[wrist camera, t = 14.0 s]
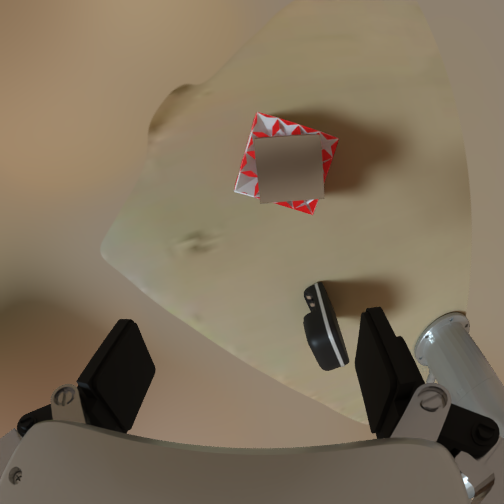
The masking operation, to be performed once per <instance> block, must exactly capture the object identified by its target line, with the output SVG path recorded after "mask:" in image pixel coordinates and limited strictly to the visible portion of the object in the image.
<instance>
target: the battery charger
mask: <svg viewBox="0 0 504 504" xmlns="http://www.w3.org/2000/svg"><path fill="white" fill-rule="evenodd" d="M304 297H305V300H306V302H307V304H308V306H309V308H310V311H311V313H309V314H307V315H306V316H305V317H304V322H303V324H304V329H305V334H306V338H307V341H308V344H309V346H310V348H311V350H312V352H313V354H314V356H315V358H316V360H317V362H318V364H319V366H320V367H321V368H322V369H323V370H325V371H329V370H332V369H335V368H338V367H343V366H345V365H346V364H348V363H349V358H348V354H347V351H346V347H345V344H344V340H343V337H342V334H341V331H340V327H339V324H338V321H337V318H336V315H335V312H334V309H333V307H332V305H331V302H330V300H329V297H328V295H327V292H326V290H325V288H324V285H323V283H322V282H319V283H315V284H314V285H312V286H310V287H308V288H307V289H306V290H305V291H304Z"/></svg>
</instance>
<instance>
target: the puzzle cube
mask: <svg viewBox="0 0 504 504" xmlns="http://www.w3.org/2000/svg"><path fill="white" fill-rule="evenodd" d="M253 123H254V124H252V129H251V133H250V136H249V139H248V142H247V146H246V150H245V154H244V156H243V159H242V163H241V167H240V172H239V174H238V175H239V176H238V177H237V180H236V182H237V183H236V184H235V189H234V192H237V193H241V194H244V195H248V196H251V197H255V198H258V199H260V196H259V187H258V178H257V168H256V159H255V150H254V141H253V139H255V138H260V137H271V136H284V135H300V134H318V135H321V147H322V161H323V178H324V182H325V180H326V177H327V174H328V171H329V168H330V165H331V162H332V159H333V156H334V153H335V150H336V147H337V144H338V141H339V138H337V137H334V136H331V135H329V134H326V133H323V132H320V131H317V130H315V129H312V128H309V127H306V126H303V125H300V124H297V123H293V122H290V121H287V120H284V119H281V118H277V117H274V116H270V115H267V114H263V113H260V112H257V113H256V115H255V118H254V121H253ZM318 200H319V199H315V200H300V201H286V202H274V203H275V204H279V205H282V206H285V207H289V208H292V209H295V210H298V211H302V212H305V213H308V214H311V215H313V214H314V211H315V208H316V205H317V202H318Z"/></svg>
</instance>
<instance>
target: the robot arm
mask: <svg viewBox="0 0 504 504" xmlns="http://www.w3.org/2000/svg"><path fill="white" fill-rule="evenodd" d="M469 327H470V325H469V321H468V319H467V318H466V317H465V315H463V314H462V313H458V312H454V313H449V314H446V315H444V316H442V317H440V318H438V319H437V320H436V321H434V322H433V323H432V324H431V325H429V326H428V327H427V328H426V330H425V331H424V332H423V333H422V334H421V336H420V337H419V339H418V341H417V343H416V346H415V357H416V359H417V361H418V362H419V363H420V364H421V365H424V366H428V367H429V373H430V374H429V375H428V377H427V380H426V384H425V382H424V380H423V378H422V376H421V374H420V372H419V369H418V367H417V365H416V363H415V361H414V359H413V357H412V355H411V353H410V351H409V349H408V347H407V345H406V343H405V341H404V339H403V338H402V337H401V336H398V337H396V336H395V334H394V332H393V330H392V328H391V326H390V324H389V322H388V320H387V318H386V316H385V314H384V312H383V310H382V308H381V307H374V308H367V309H366V312H363V313H362V314H361V321H360V330H359V337H358V344H357V351H356V358H355V369H356V373H357V376H358V380H359V384H360V388H361V392H362V396H363V400H364V404H365V408H366V412H367V416H368V420H369V425H370V429H371V432H372V433H376V436H377V439H373V440H366V441H358V442H350V443H342V444H334V445H324V446H311V447H296V448H272V449H271V448H270V449H266V448H265V449H264V448H263V449H262V448H261V449H258V448H257V449H256V448H253V449H252V448H225V447H211V446H200V445H191V444H182V443H175V442H168V441H162V440H155V439H150V438H144V437H139V436H134V435H129V434H127V431H128V430H130V429H131V428H132V426H133V423H134V421H135V418H136V416H137V414H138V411H139V409H140V407H141V404H142V402H143V399H144V397H145V395H146V393H147V390H148V388H149V386H150V384H151V381H152V379H153V377H154V374H155V366H154V363H153V361H152V359H151V357H150V354H149V352H148V350H147V347H146V345H145V343H144V340H143V338H142V335H141V333H140V330H139V328H138V326H137V324H136V323H134V321H133V320H131V319H120V320H119V321H118V322H117V323H116V324H115V326H114V327H113V329H112V330H111V331H110V333H109V334H108V336H107V337H106V339H105V340H104V341H103V343H102V344H101V346H100V347H99V348H98V350H97V351H96V353H95V354H94V356H93V357H92V359H91V360H90V362H89V363H88V365H87V366H86V368H85V369H84V371H83V372H82V374H81V375H80V377H79V378H78V380H77V383H78V387H75V386H74V385H72V384H65V385H62V386H60V387H58V388H57V389H56V390H55V391H54V392H53V394H52V396H51V404H49V405H47V406H45V407H42V408H40V409H37V410H35V411H32V412H30V413H28V414H26V415H24V416H23V417H21V419H20V420H19V422H18V425H17V430H16V429H15V428H14V429H13V430H11V431H10V432H9V433H7V434H6V435H5V436H3V437H2V438H1V439H0V504H504V386H503V384H502V382H501V381H500V380H499V378H498V376H497V375H496V373H495V372H494V370H493V368H492V367H491V365H490V364H489V362H488V361H487V360H486V358H485V356H484V355H483V354H482V352H481V351H480V349H479V348H478V346H477V345H476V344H475V342H474V341H473V340H472V338H471V337H470V335H469V334H468V333H469ZM435 379H436V380H437V382H438V384H437V383H434V382H435ZM473 497H474V499H473V500H471V498H473Z"/></svg>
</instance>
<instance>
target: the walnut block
mask: <svg viewBox="0 0 504 504" xmlns="http://www.w3.org/2000/svg"><path fill="white" fill-rule="evenodd" d="M253 141H254V150H255V159H256V168H257V178H258V187H259V196H260V204H262V203H274V202H286V201H300V200H315V199H324V178H323V161H322V147H321V135H318V134H300V135H284V136H271V137H260V138H255V139H253Z"/></svg>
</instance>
